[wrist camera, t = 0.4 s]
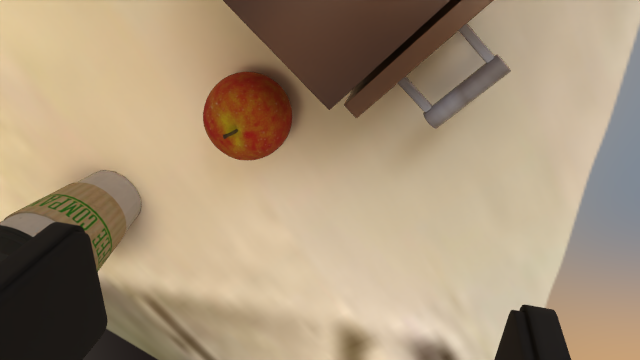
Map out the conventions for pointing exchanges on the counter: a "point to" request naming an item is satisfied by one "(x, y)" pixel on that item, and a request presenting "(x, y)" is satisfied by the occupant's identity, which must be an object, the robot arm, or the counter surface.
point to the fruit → (247, 116)
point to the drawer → (416, 49)
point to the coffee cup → (78, 214)
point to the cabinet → (334, 36)
